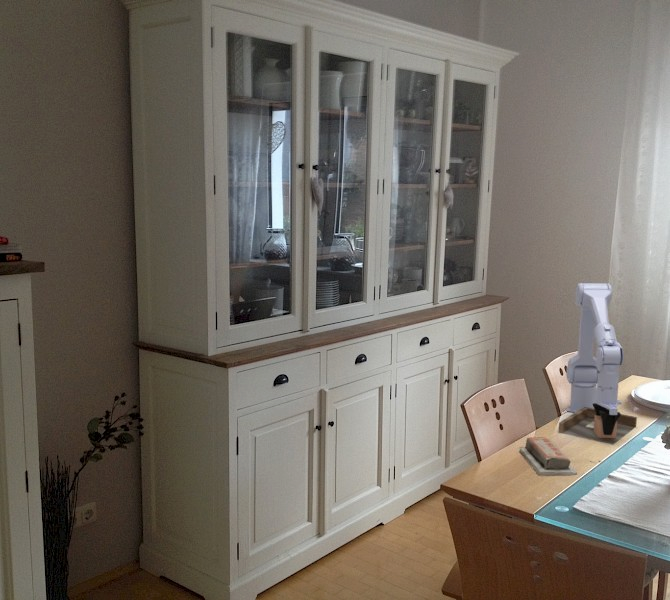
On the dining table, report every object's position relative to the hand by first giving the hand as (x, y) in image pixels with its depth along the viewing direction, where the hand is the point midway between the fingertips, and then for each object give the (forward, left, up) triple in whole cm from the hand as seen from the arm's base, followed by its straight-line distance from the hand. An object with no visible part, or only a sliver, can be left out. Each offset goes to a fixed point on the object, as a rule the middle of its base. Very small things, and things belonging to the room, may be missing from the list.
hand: (604, 431), depth 213 cm
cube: (0, 0, -1) cm, 1 cm away
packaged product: (+28, -5, -3) cm, 29 cm away
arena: (-4, -3, -2) cm, 6 cm away
